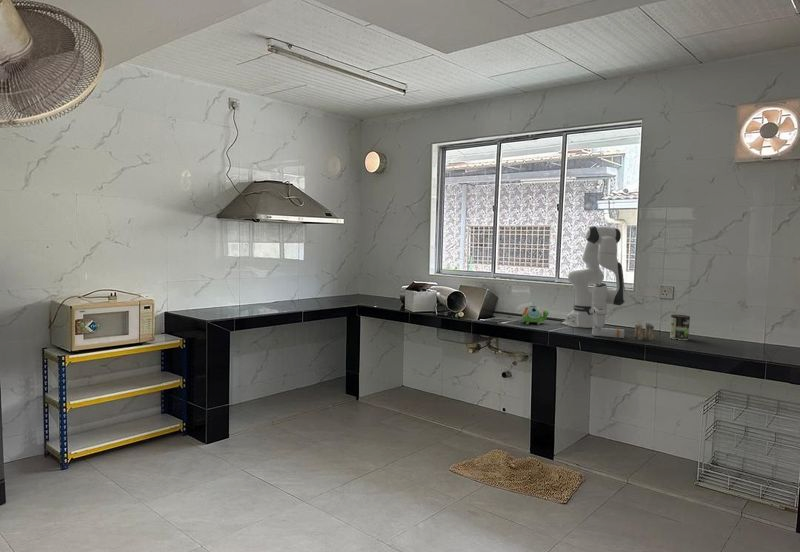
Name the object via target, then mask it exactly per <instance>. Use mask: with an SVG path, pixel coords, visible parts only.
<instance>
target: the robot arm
mask: <svg viewBox="0 0 800 552" xmlns="http://www.w3.org/2000/svg"><path fill="white" fill-rule="evenodd" d="M584 237H585V238H584V239H585V240H586V242H585V245H584V248H583V253H582V256H581V259H582V261H583V262H584V263H585V268H576V269H572V270H570V271H569V273H568V276H567V277H568V281H569V283H570V285H572V286H573V289H574V291H575V297H576V298H575V299H576V300H575V304H574V305H573V309H572V310H571V311H570V312H569V313H568V314H566V316H565V320H564V321H562V322H561V324H562V325H564V326H565V325H566V326H569V327H572V328H585V329H586V328H589V329H592V327H597V333H600V330H601V328H605V323H606V315H607V311H608V308H607V307H608V305H613V306H622V305H623V304H624V303H626V301H627V300H626V299H627V296H626V295H627V294H626V288H625V281H624V279H625V278H624V272H623V267H622V264H621V262H619V261H618V243H619V242H620V241H621V239H622V238H621V237H622V233H621V231H620V229H618V228H616V227H611V226H602V225H600V226H599V225H598V226H596V225H590V226H588V227H586V229H585V233H584ZM600 266H601V267H602V268H604V269H606V270H609V271H610V272H612V273H613V274H614V276H615V284H616V287H615V288H609V287H608V285H607V284H606V283H604V282H603V281H604V272H603V271H602V270H601V267H600ZM602 282H603V283H602ZM591 285H592V286H593V288H592V291H591V290H590V289H589V286H591Z"/></svg>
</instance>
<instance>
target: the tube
mask: <svg viewBox="0 0 800 552" xmlns="http://www.w3.org/2000/svg"><path fill="white" fill-rule="evenodd" d="M591 335H592V336H596V337H606V338H619V339H621V338H622V339H624V338H625V330H624V329H623V328H622V329H621V328H612V327H611V328H610V327H601V330H600V333H597V327H592V328H591Z"/></svg>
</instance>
